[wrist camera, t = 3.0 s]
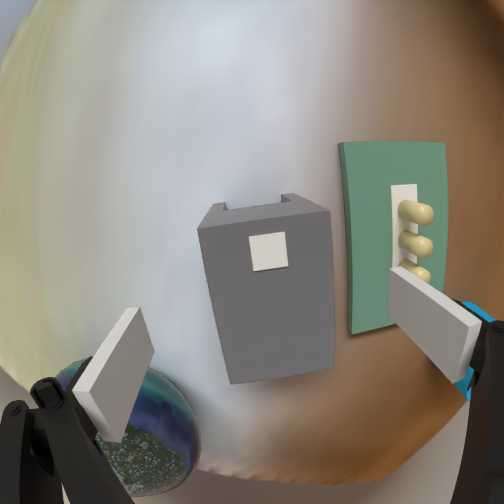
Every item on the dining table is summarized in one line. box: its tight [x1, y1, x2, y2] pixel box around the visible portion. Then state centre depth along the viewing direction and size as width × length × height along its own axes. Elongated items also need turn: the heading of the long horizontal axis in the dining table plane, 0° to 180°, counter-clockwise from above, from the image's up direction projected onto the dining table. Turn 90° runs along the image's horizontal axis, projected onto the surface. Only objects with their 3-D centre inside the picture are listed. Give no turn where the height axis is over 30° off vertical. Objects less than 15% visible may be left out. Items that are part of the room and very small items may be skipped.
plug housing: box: [197, 193, 335, 384], centre depth 18 cm, size 9×6×9 cm, turn 8°
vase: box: [55, 358, 201, 497], centre depth 20 cm, size 15×15×13 cm
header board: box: [338, 141, 448, 334], centre depth 21 cm, size 16×10×4 cm, turn 8°
